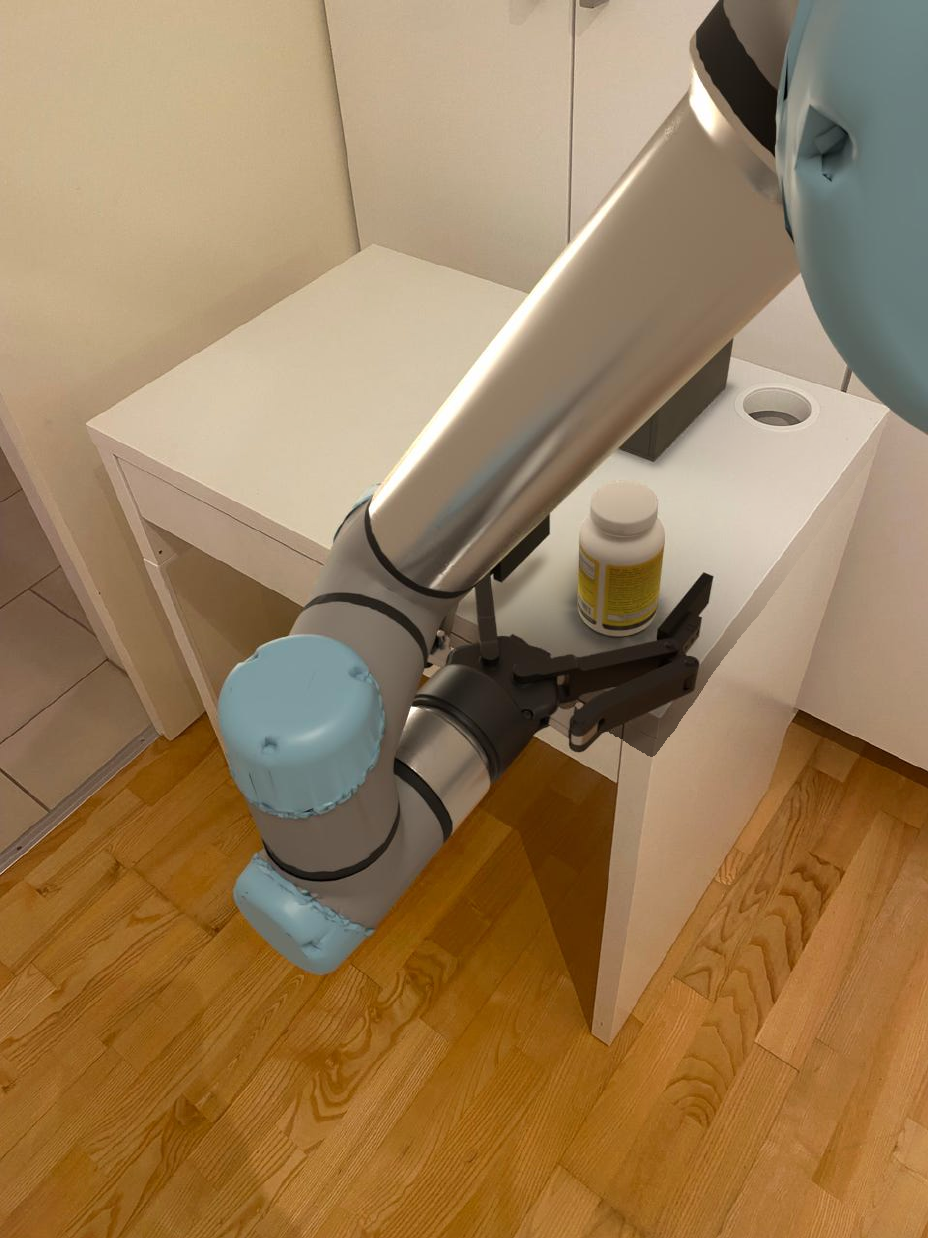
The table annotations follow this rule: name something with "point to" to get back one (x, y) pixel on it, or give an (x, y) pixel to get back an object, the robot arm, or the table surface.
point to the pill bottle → (620, 559)
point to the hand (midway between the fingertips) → (622, 551)
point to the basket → (681, 408)
